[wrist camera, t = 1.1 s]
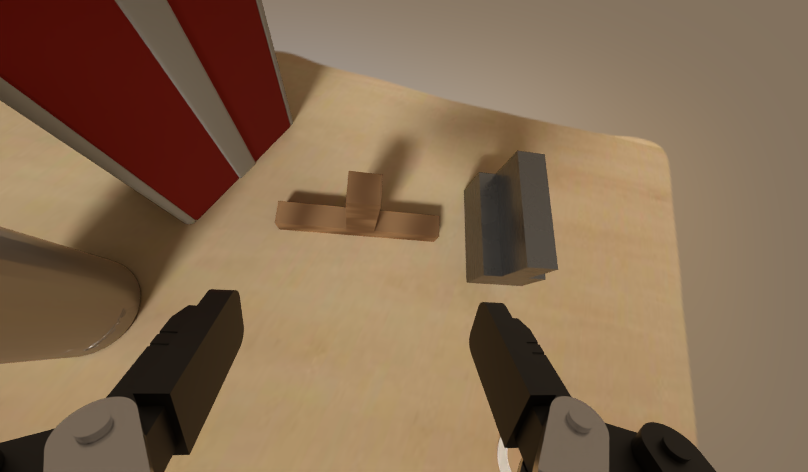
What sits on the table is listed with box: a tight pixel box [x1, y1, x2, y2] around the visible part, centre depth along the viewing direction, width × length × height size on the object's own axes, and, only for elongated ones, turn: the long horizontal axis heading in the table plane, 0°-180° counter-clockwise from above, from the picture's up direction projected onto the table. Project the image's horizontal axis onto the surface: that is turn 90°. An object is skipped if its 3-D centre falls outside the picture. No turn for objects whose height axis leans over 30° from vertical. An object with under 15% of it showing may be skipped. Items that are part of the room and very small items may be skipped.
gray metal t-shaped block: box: [464, 151, 558, 286], centre depth 35 cm, size 12×7×10 cm, turn 178°
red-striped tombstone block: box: [0, 0, 293, 224], centre depth 24 cm, size 17×18×27 cm
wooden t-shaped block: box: [275, 171, 439, 242], centre depth 32 cm, size 18×3×10 cm, turn 88°
